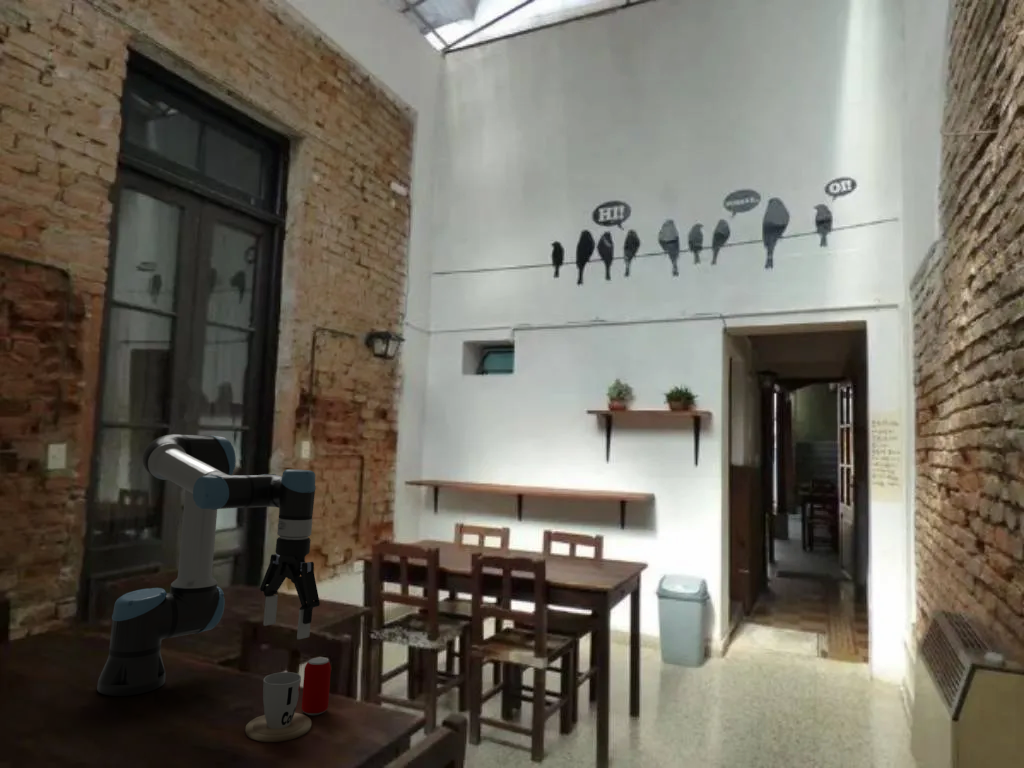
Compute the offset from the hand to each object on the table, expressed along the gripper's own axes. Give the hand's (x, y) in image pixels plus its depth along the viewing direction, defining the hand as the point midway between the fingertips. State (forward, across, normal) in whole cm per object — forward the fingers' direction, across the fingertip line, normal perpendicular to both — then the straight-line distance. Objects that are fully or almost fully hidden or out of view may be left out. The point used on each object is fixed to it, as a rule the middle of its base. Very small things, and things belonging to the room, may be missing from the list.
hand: (285, 631), depth 150 cm
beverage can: (+22, -1, +11) cm, 24 cm away
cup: (+20, 0, 0) cm, 21 cm away
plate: (+21, +1, 0) cm, 21 cm away
